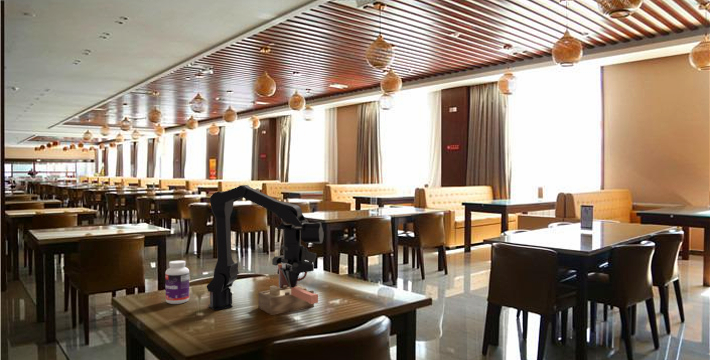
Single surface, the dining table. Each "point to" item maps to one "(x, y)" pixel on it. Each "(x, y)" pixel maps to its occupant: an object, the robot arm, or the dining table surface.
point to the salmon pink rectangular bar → (304, 295)
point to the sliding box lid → (280, 291)
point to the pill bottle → (177, 282)
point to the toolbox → (281, 302)
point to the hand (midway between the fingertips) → (292, 289)
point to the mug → (283, 280)
